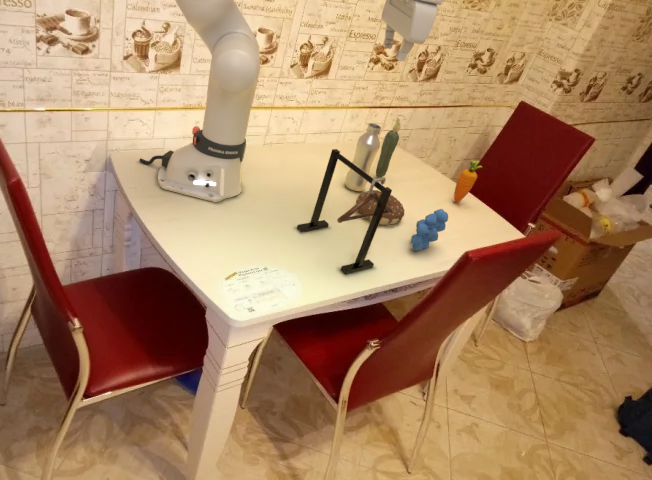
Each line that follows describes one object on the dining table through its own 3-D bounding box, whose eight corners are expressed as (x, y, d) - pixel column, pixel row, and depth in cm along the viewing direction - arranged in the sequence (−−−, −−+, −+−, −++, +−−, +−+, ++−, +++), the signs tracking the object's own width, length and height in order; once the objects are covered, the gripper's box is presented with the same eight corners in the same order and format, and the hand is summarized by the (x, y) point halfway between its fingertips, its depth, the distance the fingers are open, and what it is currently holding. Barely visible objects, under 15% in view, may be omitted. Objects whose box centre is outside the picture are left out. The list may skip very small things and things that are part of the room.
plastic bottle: (363, 196, 156) (386, 133, 144) (341, 189, 156) (362, 126, 144) (364, 187, 161) (386, 125, 149) (344, 180, 161) (364, 119, 149)
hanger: (338, 224, 113) (352, 183, 107) (335, 221, 114) (349, 180, 108) (392, 214, 123) (408, 176, 117) (389, 211, 123) (404, 173, 117)
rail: (345, 275, 121) (376, 193, 108) (296, 228, 132) (318, 149, 119) (372, 267, 126) (405, 188, 113) (323, 223, 137) (347, 147, 124)
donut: (391, 205, 155) (397, 190, 152) (406, 230, 145) (412, 215, 142) (346, 199, 152) (352, 183, 149) (358, 224, 141) (364, 208, 138)
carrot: (457, 198, 169) (477, 156, 160) (466, 207, 166) (487, 164, 157) (445, 198, 167) (465, 156, 158) (453, 206, 164) (474, 163, 155)
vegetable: (382, 183, 166) (405, 123, 154) (369, 179, 166) (391, 119, 155) (384, 177, 170) (406, 119, 158) (371, 173, 170) (392, 115, 158)
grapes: (421, 236, 144) (439, 198, 137) (440, 249, 140) (459, 211, 133) (395, 244, 137) (412, 205, 130) (414, 258, 134) (432, 219, 126)
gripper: (386, -28, 114) (367, 38, 123) (419, -10, 99) (394, 65, 107) (412, -22, 116) (391, 43, 124) (448, -3, 100) (422, 70, 108)
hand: (393, 53), depth 115 cm, fingers open, 8 cm apart
